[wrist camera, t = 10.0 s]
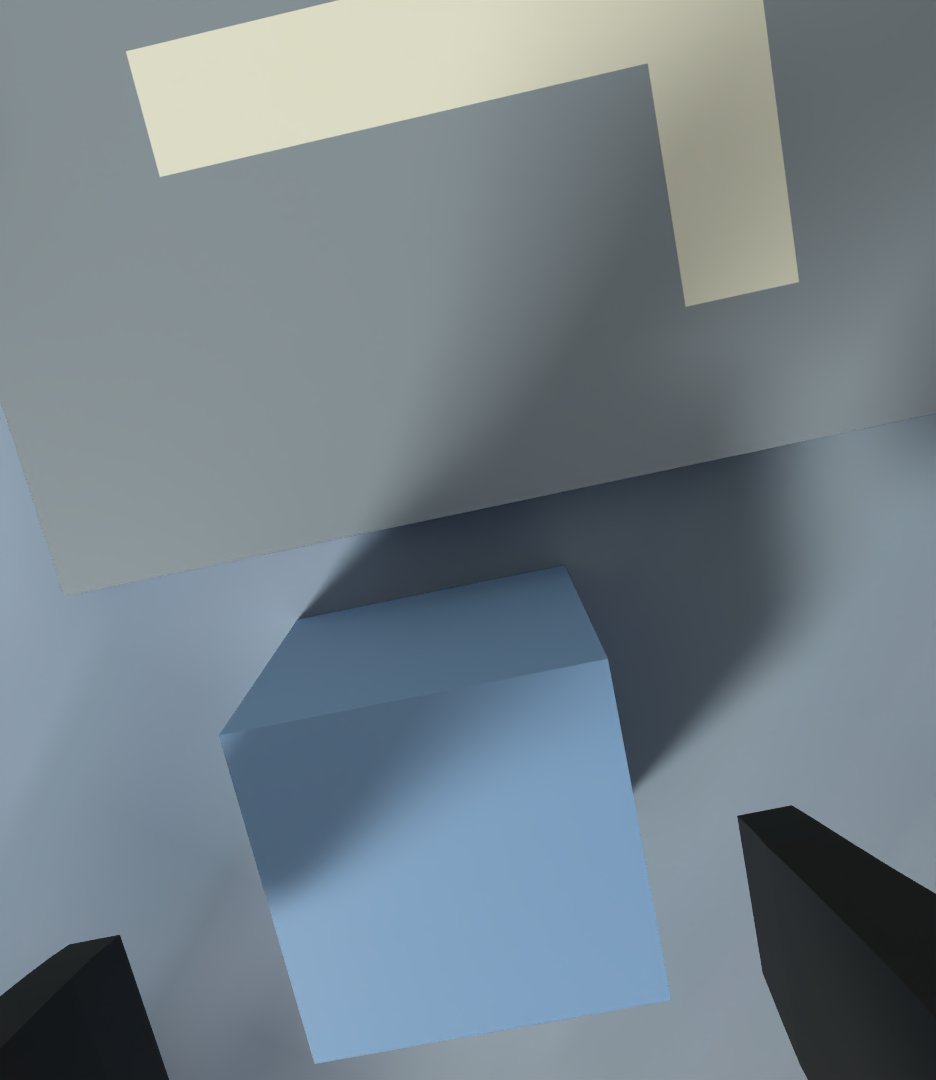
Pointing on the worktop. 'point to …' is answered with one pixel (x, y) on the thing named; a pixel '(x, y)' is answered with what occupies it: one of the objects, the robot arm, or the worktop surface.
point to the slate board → (443, 255)
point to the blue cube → (446, 818)
